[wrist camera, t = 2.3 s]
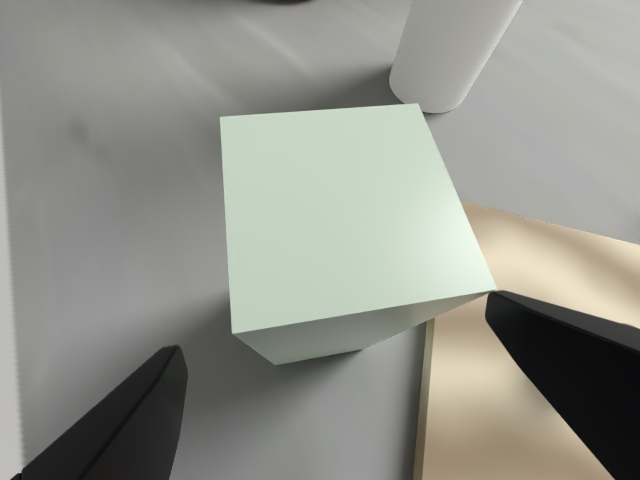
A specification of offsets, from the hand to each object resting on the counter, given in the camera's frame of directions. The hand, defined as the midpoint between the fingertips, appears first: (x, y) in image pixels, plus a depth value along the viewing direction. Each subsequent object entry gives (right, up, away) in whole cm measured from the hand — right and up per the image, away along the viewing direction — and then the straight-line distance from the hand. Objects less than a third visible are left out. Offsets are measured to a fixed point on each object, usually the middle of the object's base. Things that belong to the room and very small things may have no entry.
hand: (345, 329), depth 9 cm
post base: (+14, -5, +10) cm, 17 cm away
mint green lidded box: (-1, -2, +10) cm, 10 cm away
